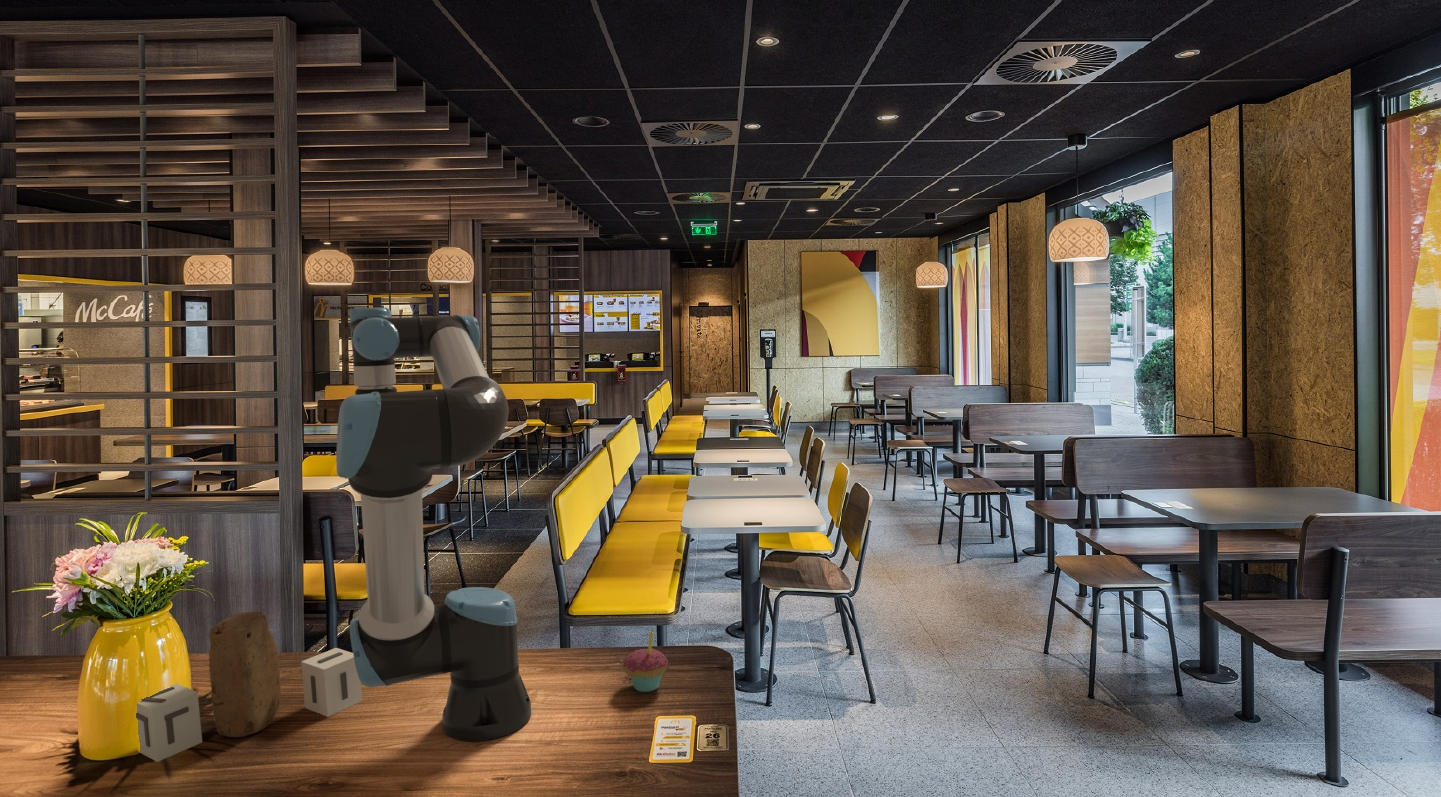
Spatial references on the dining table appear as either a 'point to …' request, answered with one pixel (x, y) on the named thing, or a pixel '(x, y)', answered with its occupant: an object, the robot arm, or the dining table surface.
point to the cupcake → (645, 667)
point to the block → (243, 674)
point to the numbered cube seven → (168, 722)
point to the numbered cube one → (331, 682)
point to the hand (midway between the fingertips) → (384, 504)
